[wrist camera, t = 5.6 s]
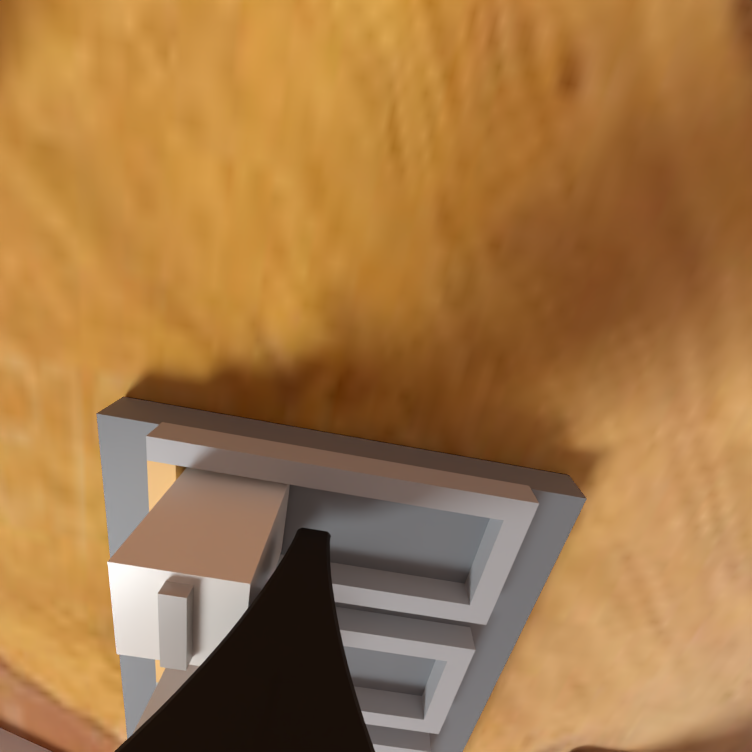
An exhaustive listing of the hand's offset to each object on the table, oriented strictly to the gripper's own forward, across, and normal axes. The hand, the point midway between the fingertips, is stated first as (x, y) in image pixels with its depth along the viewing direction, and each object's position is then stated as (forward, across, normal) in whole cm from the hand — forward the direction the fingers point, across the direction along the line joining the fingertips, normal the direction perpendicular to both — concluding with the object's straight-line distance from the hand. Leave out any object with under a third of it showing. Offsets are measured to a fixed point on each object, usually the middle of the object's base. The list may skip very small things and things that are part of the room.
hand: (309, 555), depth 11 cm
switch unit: (+3, -1, +6) cm, 7 cm away
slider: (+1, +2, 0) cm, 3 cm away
